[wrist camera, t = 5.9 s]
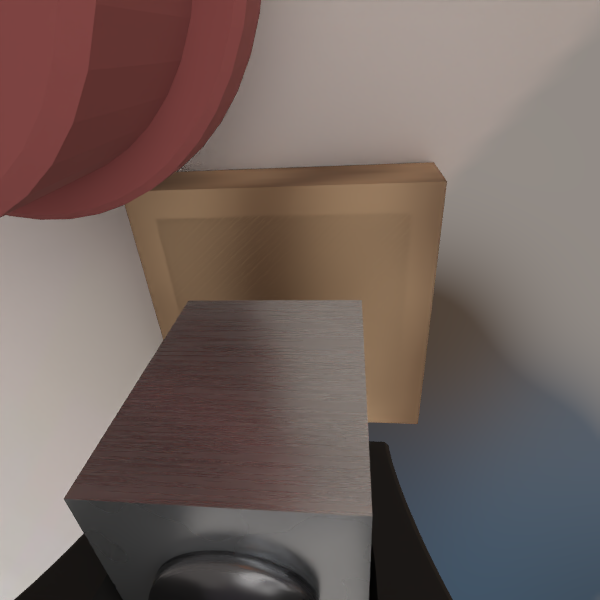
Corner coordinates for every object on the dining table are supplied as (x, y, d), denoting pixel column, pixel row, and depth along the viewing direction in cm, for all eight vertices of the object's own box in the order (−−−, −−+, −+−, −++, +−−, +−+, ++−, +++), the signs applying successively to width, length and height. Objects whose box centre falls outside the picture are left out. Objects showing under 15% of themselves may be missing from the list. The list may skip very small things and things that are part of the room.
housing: (358, 499, 14) (364, 738, 9) (234, 492, 15) (176, 715, 10) (361, 300, 10) (373, 539, 5) (188, 300, 11) (51, 519, 6)
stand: (433, 162, 15) (447, 181, 13) (410, 385, 21) (417, 423, 19) (150, 172, 17) (121, 191, 15) (200, 380, 22) (185, 415, 20)
